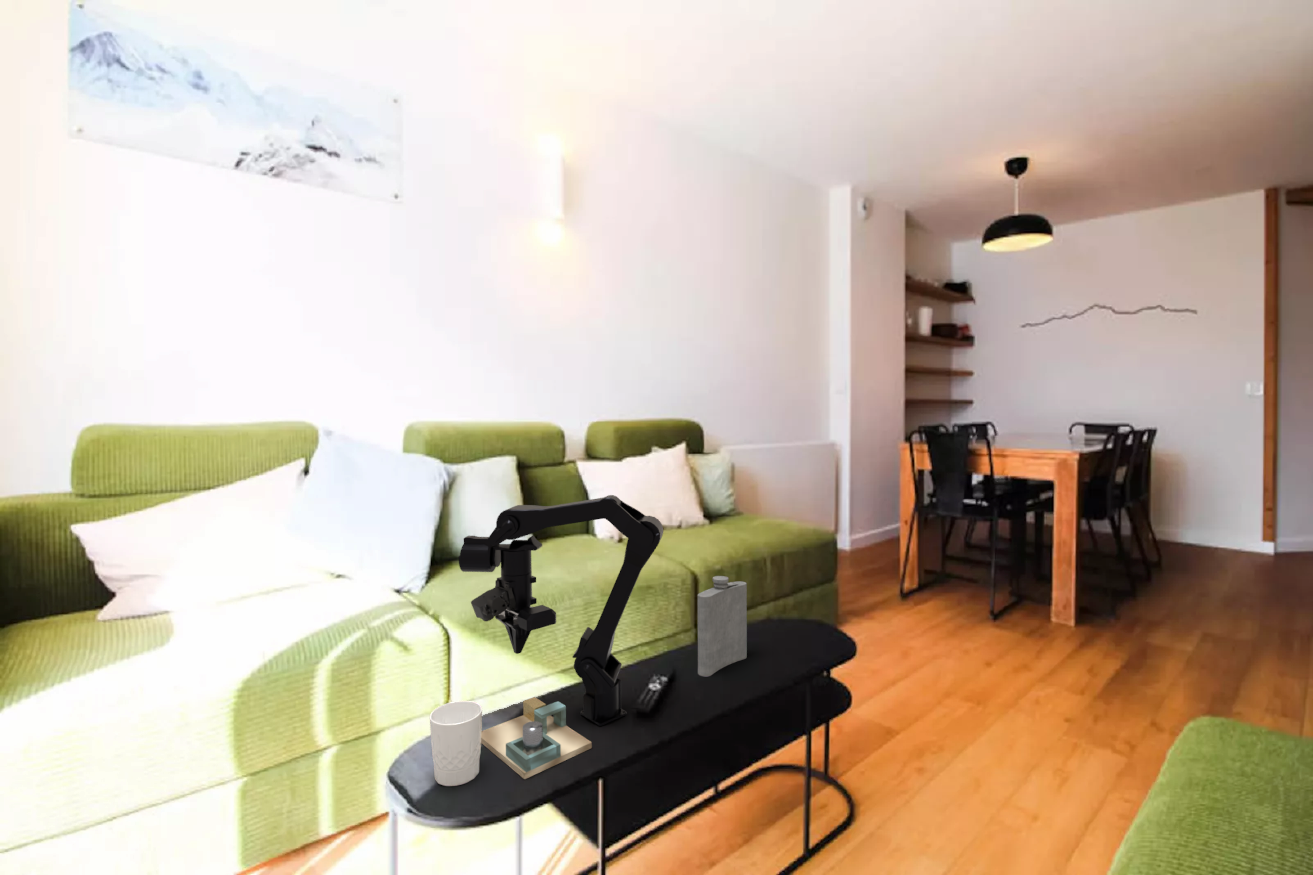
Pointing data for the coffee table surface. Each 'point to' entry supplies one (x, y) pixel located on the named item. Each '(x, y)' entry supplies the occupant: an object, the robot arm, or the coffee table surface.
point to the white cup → (456, 741)
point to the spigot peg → (532, 737)
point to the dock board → (556, 741)
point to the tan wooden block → (531, 707)
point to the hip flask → (722, 625)
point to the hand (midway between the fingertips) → (517, 653)
